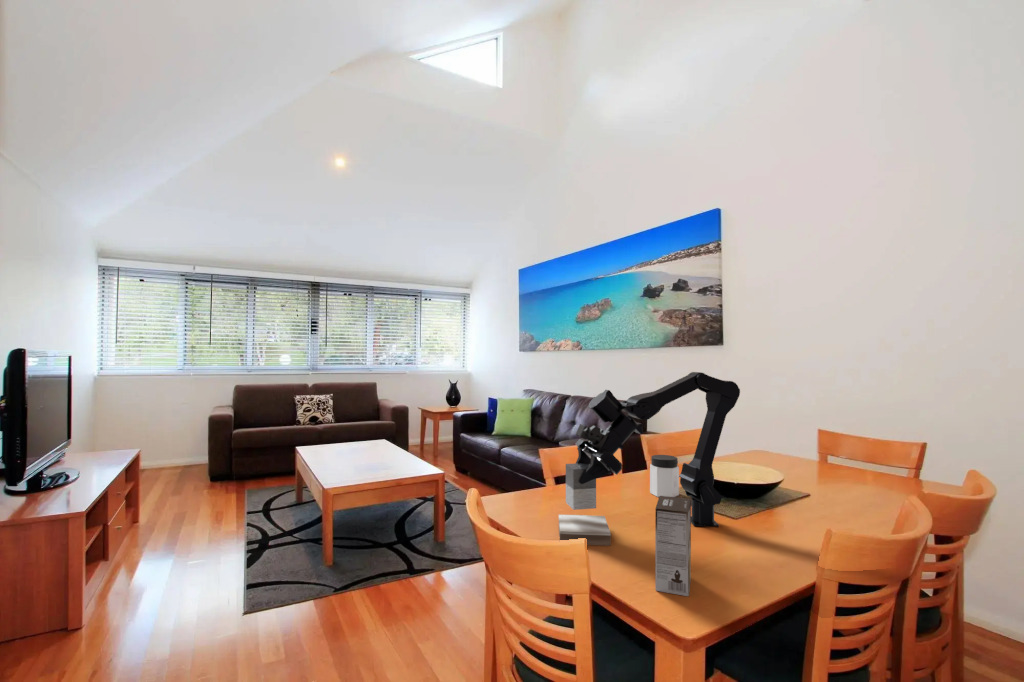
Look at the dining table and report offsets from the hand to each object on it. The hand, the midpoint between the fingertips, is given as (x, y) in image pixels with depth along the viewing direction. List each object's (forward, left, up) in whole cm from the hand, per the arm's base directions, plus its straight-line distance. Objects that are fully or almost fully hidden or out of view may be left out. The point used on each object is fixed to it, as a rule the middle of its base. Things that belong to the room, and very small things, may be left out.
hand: (575, 479), depth 124 cm
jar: (+36, -31, -14) cm, 49 cm away
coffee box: (-26, -18, -14) cm, 34 cm away
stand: (-2, -2, -13) cm, 14 cm away
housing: (0, -1, -7) cm, 7 cm away
